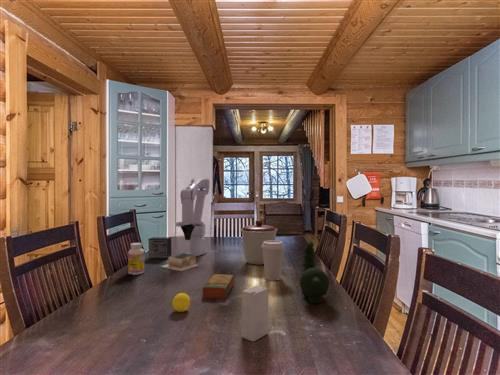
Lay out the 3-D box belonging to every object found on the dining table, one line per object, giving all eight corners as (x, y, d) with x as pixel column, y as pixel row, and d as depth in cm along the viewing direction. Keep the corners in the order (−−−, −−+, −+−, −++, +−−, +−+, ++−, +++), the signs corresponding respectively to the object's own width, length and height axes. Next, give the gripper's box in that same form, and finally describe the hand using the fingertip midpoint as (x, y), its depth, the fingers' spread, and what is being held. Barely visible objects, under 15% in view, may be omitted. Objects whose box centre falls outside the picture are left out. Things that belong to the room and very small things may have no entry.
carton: (233, 285, 128) (233, 274, 128) (226, 300, 113) (226, 287, 112) (212, 284, 129) (212, 273, 129) (202, 299, 114) (202, 286, 113)
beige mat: (178, 262, 164) (178, 261, 164) (198, 266, 157) (198, 264, 157) (160, 267, 154) (160, 266, 154) (181, 271, 147) (181, 270, 147)
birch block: (183, 253, 163) (168, 256, 155) (196, 254, 159) (181, 258, 151) (183, 261, 163) (168, 265, 155) (196, 263, 159) (181, 268, 151)
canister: (234, 265, 158) (234, 221, 158) (248, 257, 175) (248, 217, 175) (270, 268, 152) (270, 222, 151) (282, 260, 168) (282, 218, 168)
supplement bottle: (124, 273, 143) (124, 244, 143) (136, 270, 149) (136, 241, 149) (136, 275, 140) (135, 245, 140) (147, 272, 146) (147, 243, 146)
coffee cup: (287, 276, 139) (287, 241, 138) (280, 283, 130) (280, 244, 130) (266, 274, 143) (266, 239, 142) (257, 280, 134) (257, 243, 134)
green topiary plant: (296, 290, 127) (302, 309, 102) (296, 240, 128) (301, 246, 103) (321, 290, 126) (333, 309, 101) (320, 240, 128) (332, 247, 103)
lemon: (190, 315, 100) (189, 299, 99) (171, 316, 99) (171, 299, 98) (191, 304, 107) (190, 288, 106) (173, 305, 106) (173, 289, 105)
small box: (172, 256, 177) (172, 236, 177) (167, 259, 170) (167, 239, 170) (153, 256, 178) (152, 236, 178) (148, 259, 172) (147, 238, 171)
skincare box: (255, 329, 89) (255, 284, 89) (269, 334, 86) (269, 287, 86) (240, 337, 85) (240, 290, 84) (254, 343, 82) (254, 294, 81)
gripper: (183, 213, 160) (183, 242, 160) (203, 212, 172) (203, 238, 172) (172, 213, 164) (172, 241, 163) (193, 212, 176) (193, 237, 176)
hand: (187, 239), depth 168 cm, fingers closed
